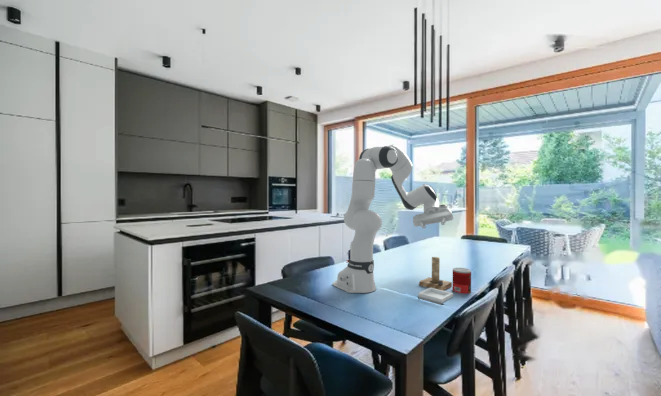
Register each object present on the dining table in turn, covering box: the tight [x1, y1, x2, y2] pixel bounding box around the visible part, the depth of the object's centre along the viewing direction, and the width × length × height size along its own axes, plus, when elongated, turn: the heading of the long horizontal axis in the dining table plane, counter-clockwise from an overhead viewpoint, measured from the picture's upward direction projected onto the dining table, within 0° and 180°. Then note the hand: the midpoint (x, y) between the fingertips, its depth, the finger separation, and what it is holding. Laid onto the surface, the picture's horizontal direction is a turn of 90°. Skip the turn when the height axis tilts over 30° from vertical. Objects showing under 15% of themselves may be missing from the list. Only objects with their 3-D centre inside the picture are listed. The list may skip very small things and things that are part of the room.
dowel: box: [431, 256, 440, 284], centre depth 147 cm, size 4×4×14 cm
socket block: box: [418, 277, 453, 291], centre depth 148 cm, size 12×10×5 cm
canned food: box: [452, 267, 472, 295], centre depth 140 cm, size 8×8×11 cm
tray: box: [417, 287, 454, 306], centre depth 133 cm, size 11×11×2 cm
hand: (433, 225), depth 153 cm, fingers open, 8 cm apart
